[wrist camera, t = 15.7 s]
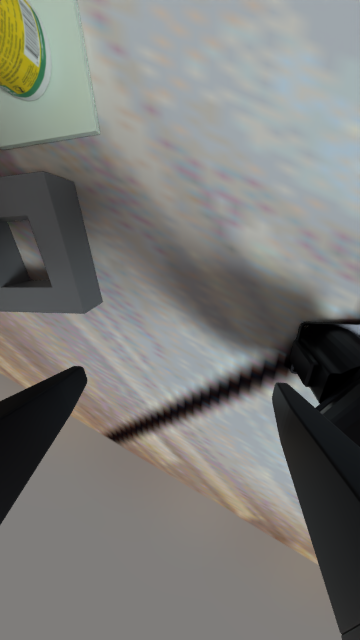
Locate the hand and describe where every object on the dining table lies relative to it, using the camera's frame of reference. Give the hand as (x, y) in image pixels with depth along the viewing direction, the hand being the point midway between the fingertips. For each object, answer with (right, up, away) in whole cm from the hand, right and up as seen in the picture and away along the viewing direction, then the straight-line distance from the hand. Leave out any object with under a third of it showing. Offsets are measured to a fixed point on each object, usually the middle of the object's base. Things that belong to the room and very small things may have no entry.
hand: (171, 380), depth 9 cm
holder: (-15, +11, +13) cm, 22 cm away
